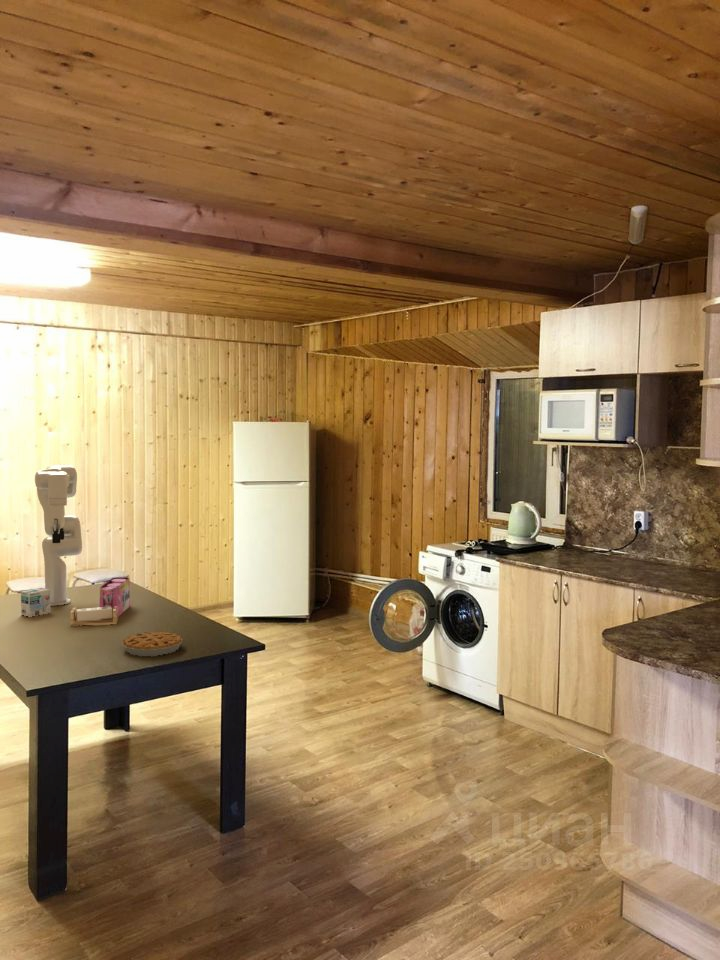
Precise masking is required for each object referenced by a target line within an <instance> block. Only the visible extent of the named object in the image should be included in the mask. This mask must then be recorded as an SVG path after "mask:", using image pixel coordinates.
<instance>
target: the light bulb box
mask: <svg viewBox="0 0 720 960" xmlns="http://www.w3.org/2000/svg"><path fill="white" fill-rule="evenodd" d="M20 607H21V608H20V609H21V610H20V611H21V612H20V613H21V616H22V615H24V616H23V617H26V616H28V617H27V618H33V617H32V616H35V617H39V616H38V615H40V616H44V615H49V614H51V612H52V611H51V606H50V590H49V589H45V587H40V588H33V589H29V590H23V591H20ZM48 613H49V614H48ZM43 614H44V615H43Z"/></svg>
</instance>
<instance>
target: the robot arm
mask: <svg viewBox="0 0 720 960" xmlns="http://www.w3.org/2000/svg"><path fill="white" fill-rule="evenodd" d="M77 482H78V473H77V470H76V468H75V467H74V466H72V465H50V466H47V467H46V468H45V469H40V470H37V471H36V473H35V475H34V484H35V487H36V493H37V494H36V495H37V498H38V501H39V504H40V505H41V508H42V511H43V523H44V524H43V525H44V532H45V534H46V535H47V537H45V538H44V539H43V540H42V543H41V549H42V553H43V561H44V563H43V564H44V588H45V589H49V590H50V607H56V606H57V605H58V606H64V604H65V605H68V604H70V603H71V599H70V598H68V588H67V587H68V586H67V582H68V581H67V577H68V576H67V565H66V562H65V560H63V559H62V558H61V557H68V556H69V557H70V556H71V557H72V556H79V555H80V554H81V553H82V551H83V539H82V528H81V527H82V526H81V522H80V519H79V517H78V516H76V515H66V514H65V513H66V512H65V511H66V510H65V506H67V505H68V499H67V498H73V497H75V495H76V494H77V484H78V483H77ZM58 606H57V607H58Z"/></svg>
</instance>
